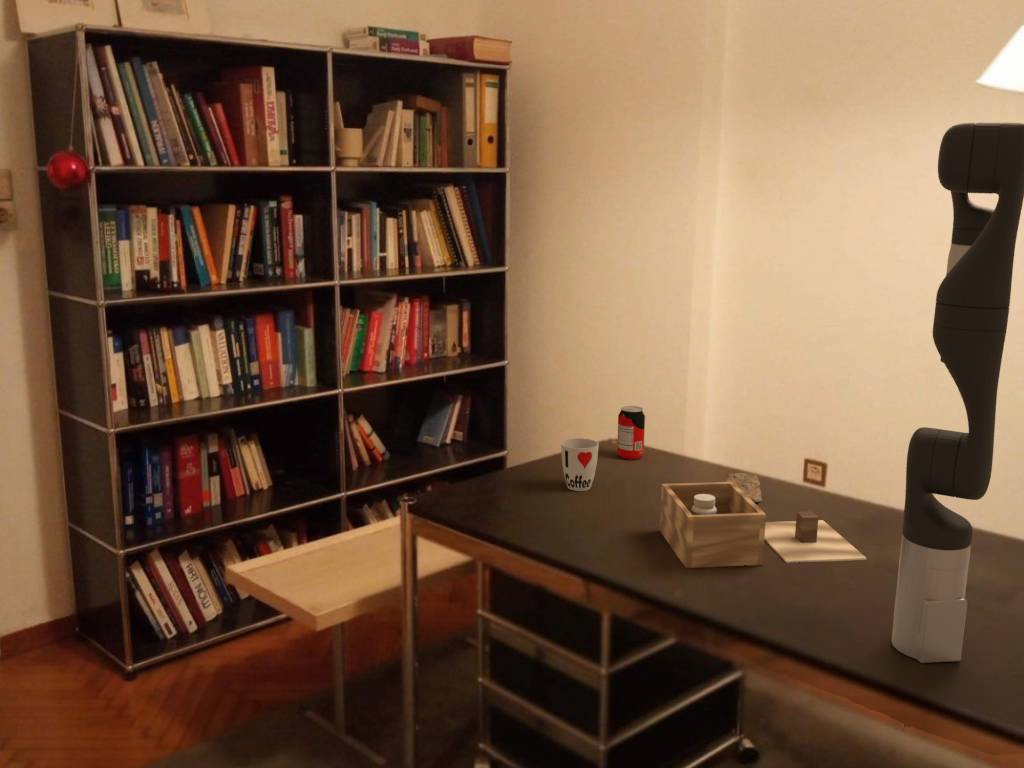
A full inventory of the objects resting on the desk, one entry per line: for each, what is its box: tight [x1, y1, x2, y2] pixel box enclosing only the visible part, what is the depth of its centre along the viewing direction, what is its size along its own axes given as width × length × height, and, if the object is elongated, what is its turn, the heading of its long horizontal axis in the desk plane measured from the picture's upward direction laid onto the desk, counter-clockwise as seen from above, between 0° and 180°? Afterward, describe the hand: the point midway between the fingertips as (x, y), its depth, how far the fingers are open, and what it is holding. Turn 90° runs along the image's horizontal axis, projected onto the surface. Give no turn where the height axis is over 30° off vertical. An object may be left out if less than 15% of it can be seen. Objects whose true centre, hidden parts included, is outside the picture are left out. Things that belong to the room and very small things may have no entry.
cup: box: [560, 437, 600, 492], centre depth 217 cm, size 8×8×10 cm
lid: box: [764, 511, 867, 564], centre depth 187 cm, size 19×15×6 cm
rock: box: [723, 472, 763, 503], centre depth 212 cm, size 9×6×10 cm
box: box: [659, 481, 767, 569], centre depth 184 cm, size 18×14×10 cm
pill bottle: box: [691, 494, 717, 515], centre depth 188 cm, size 5×5×8 cm
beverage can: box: [616, 405, 646, 461], centre depth 238 cm, size 6×6×12 cm
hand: (960, 367), depth 168 cm, fingers open, 8 cm apart
